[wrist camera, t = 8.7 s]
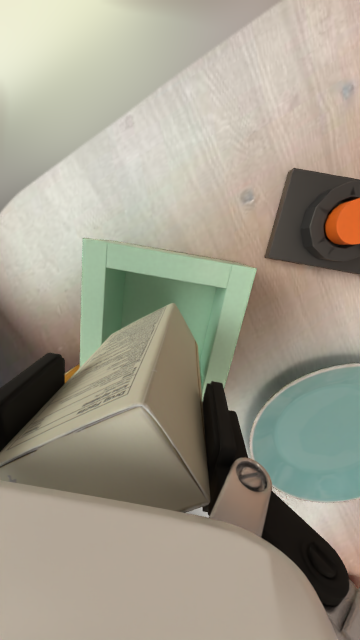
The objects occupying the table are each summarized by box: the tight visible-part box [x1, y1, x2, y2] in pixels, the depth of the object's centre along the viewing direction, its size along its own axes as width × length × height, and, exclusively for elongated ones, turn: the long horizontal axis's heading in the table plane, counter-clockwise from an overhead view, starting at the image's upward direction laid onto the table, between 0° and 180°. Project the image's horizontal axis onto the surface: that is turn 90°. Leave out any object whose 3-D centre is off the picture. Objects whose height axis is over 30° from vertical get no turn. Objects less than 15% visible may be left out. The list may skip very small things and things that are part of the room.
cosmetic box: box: [0, 303, 210, 513], centre depth 12 cm, size 6×4×12 cm
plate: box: [249, 363, 360, 503], centre depth 29 cm, size 22×22×3 cm
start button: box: [325, 198, 360, 245], centre depth 19 cm, size 4×4×2 cm
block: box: [265, 168, 360, 274], centre depth 21 cm, size 11×8×3 cm
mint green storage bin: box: [80, 238, 257, 401], centre depth 23 cm, size 14×14×7 cm
